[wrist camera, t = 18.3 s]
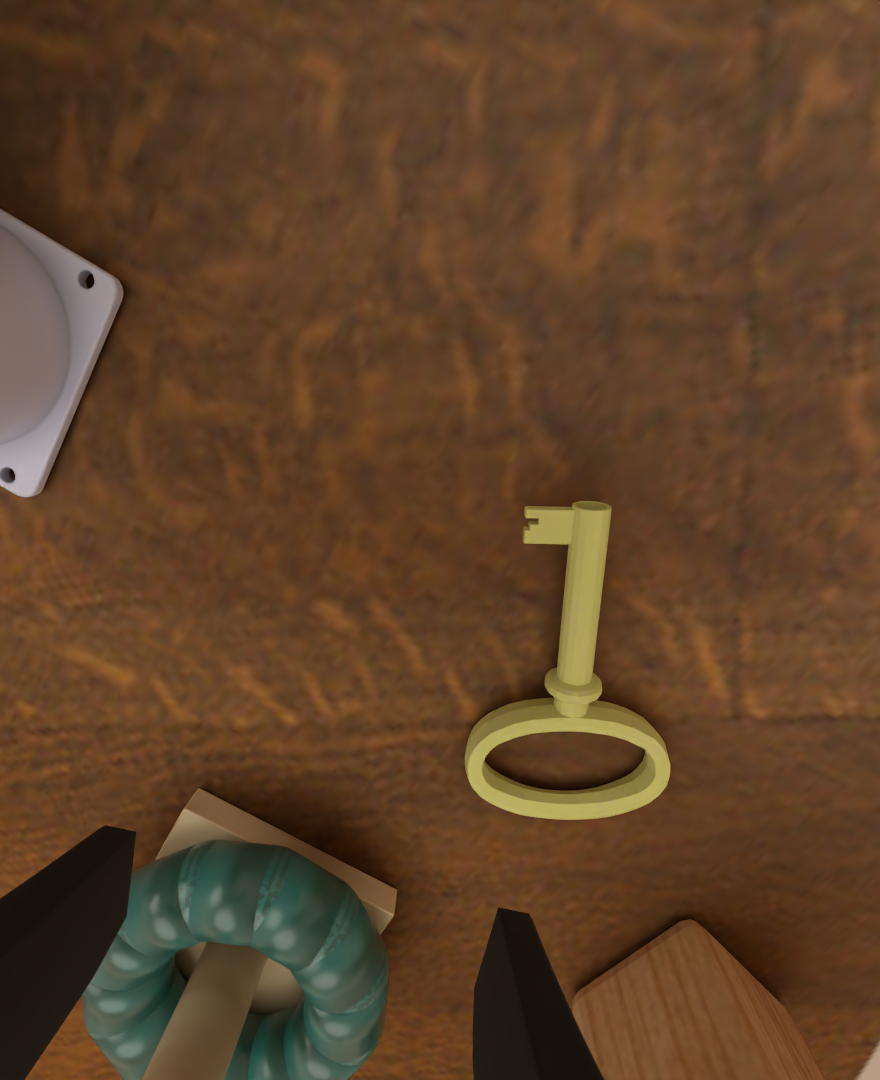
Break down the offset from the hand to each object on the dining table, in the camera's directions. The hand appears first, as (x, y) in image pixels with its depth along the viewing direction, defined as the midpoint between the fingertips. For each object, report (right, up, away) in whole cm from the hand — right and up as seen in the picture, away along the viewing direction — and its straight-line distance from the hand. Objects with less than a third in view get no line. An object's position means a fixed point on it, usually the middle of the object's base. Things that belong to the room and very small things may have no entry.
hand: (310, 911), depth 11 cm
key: (+7, +2, +10) cm, 12 cm away
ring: (-5, -9, +10) cm, 14 cm away
